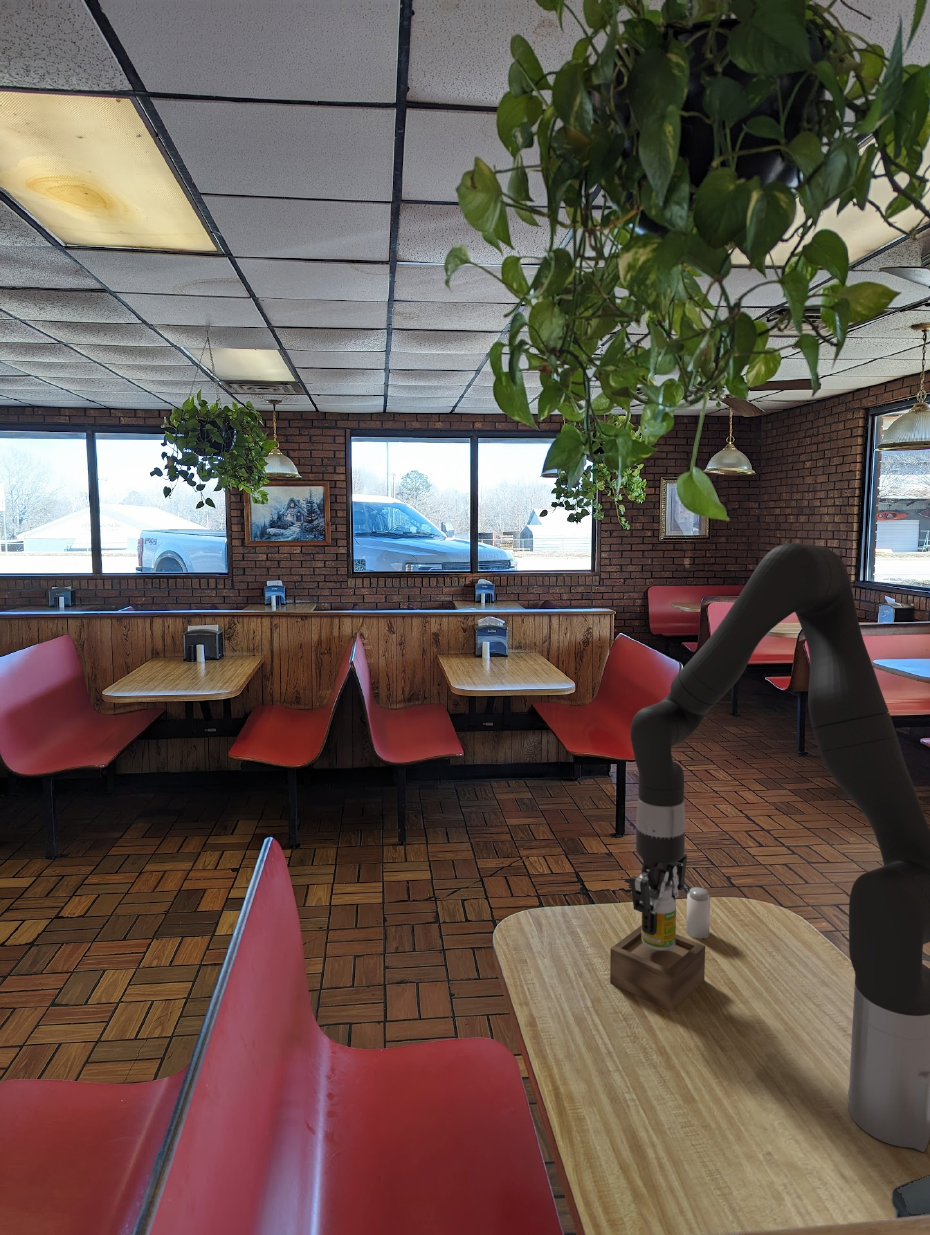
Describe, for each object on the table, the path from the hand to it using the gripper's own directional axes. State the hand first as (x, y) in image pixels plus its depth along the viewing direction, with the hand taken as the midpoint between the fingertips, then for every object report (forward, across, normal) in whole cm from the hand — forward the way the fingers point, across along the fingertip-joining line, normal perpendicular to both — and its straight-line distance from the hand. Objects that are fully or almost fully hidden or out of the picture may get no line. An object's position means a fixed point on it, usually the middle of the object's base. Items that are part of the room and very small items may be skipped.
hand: (658, 925), depth 124 cm
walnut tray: (+10, 0, 0) cm, 10 cm away
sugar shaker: (+10, +18, +2) cm, 21 cm away
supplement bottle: (+3, 0, 0) cm, 3 cm away
